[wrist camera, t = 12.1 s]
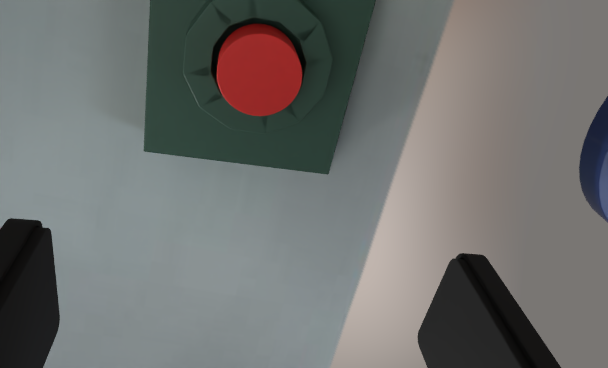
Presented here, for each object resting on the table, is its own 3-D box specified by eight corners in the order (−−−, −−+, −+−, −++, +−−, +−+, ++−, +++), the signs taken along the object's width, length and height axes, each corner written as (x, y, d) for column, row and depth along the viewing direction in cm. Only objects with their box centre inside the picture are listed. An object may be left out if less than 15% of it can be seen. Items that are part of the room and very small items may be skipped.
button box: (322, 156, 28) (334, 191, 25) (150, 133, 26) (137, 169, 23) (379, -64, 22) (404, -56, 19) (162, -116, 20) (147, -118, 17)
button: (289, 106, 23) (293, 122, 21) (213, 95, 22) (212, 110, 20) (305, 31, 21) (310, 42, 19) (223, 16, 20) (222, 26, 19)
